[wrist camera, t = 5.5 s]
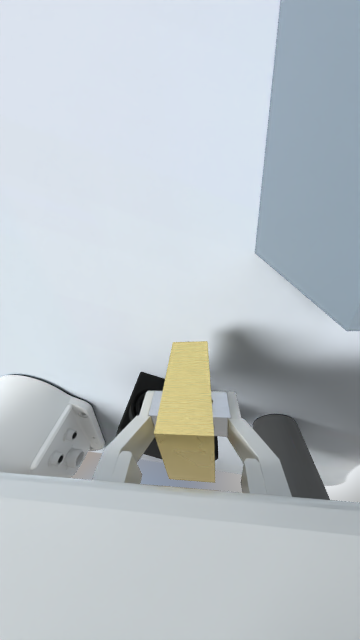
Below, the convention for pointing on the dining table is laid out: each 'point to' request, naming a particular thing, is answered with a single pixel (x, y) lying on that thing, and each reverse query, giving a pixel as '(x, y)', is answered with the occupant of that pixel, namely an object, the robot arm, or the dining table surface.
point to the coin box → (315, 157)
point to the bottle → (291, 455)
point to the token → (187, 415)
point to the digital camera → (135, 405)
